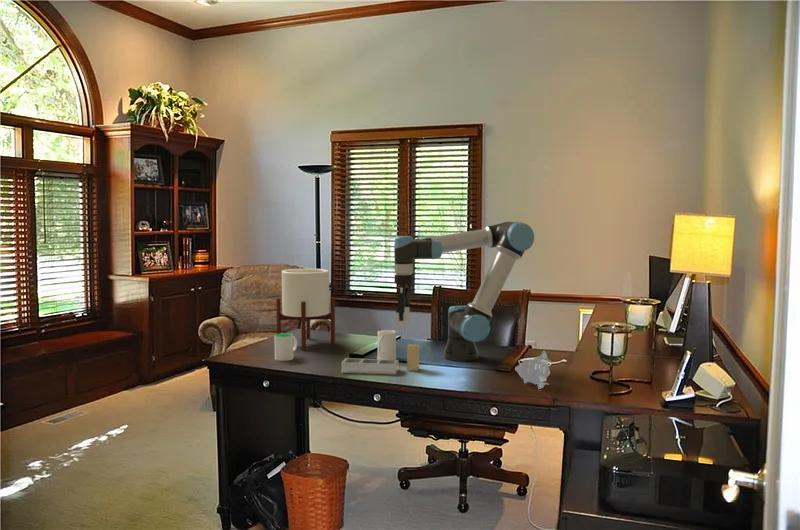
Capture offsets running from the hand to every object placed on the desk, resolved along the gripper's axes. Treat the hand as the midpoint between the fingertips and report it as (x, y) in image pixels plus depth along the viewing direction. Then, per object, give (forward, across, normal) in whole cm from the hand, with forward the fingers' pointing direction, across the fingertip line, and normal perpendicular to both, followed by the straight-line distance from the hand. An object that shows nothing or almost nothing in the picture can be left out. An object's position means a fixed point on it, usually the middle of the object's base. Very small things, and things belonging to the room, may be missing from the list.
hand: (403, 325), depth 258 cm
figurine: (+18, +18, +50) cm, 57 cm away
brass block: (+18, +2, +4) cm, 18 cm away
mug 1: (+18, -10, -53) cm, 57 cm away
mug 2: (+18, -14, -10) cm, 25 cm away
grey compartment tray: (+18, +7, -13) cm, 23 cm away
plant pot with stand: (+18, -38, -53) cm, 68 cm away
